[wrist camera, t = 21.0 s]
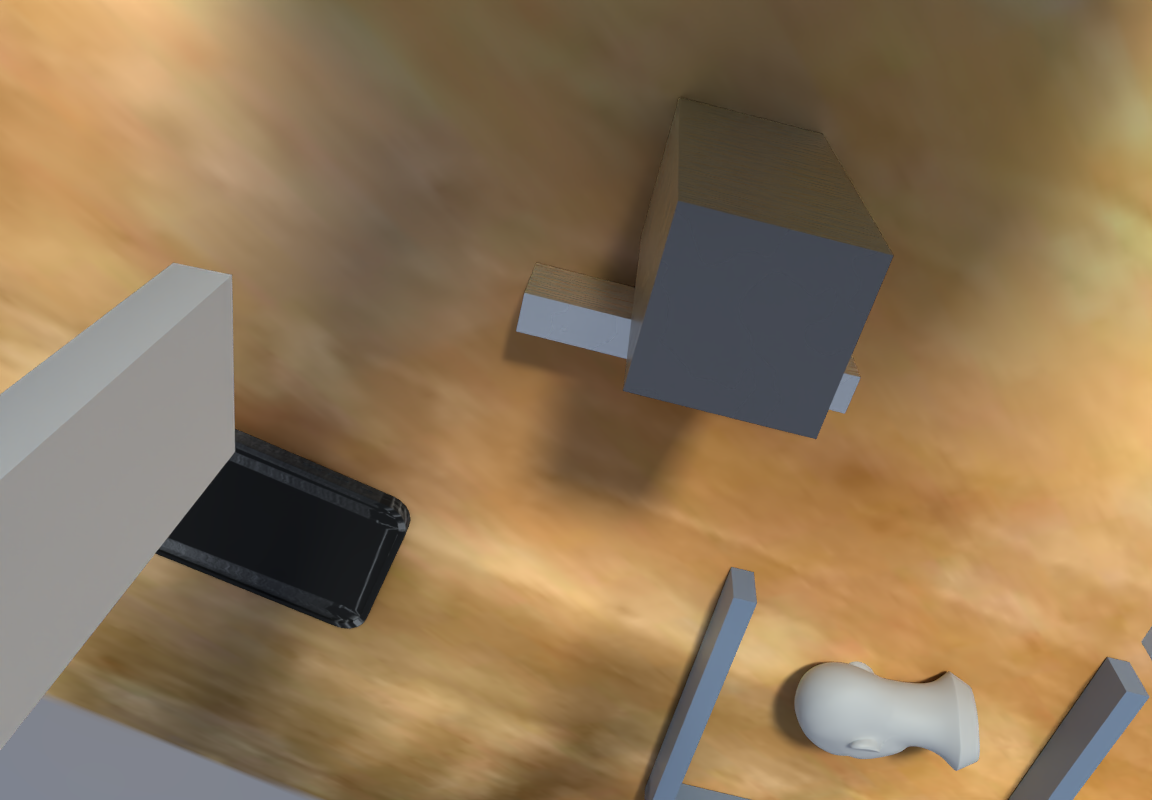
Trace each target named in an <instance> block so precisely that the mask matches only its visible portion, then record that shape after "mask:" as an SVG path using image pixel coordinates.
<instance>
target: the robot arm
mask: <svg viewBox="0 0 1152 800" xmlns="http://www.w3.org/2000/svg"><path fill="white" fill-rule="evenodd" d="M234 452H235V419H234V361H233V303H232V275H230V274H225V273H220V272H215V271H210V270H206V269H201V268H196V267H191V266H186V265H182V264H177V263H172V264H171V265H170V266H168V267H167V268H166V269H165V270H163V271H162V272H161V273H159V274H158V275H157V276H155V277H154V278H153V279H151V280H150V281H149V282H147V283H146V284H145V285H143V286H142V287H141V288H140V289H138V290H137V291H136V292H134V293H133V294H132V295H130V296H129V297H128V298H126V299H125V300H124V301H122V302H121V303H120V304H119V305H117V306H116V307H115V308H113V309H112V310H111V311H109V312H108V313H107V314H105V315H104V316H103V317H101V318H100V319H99V320H97V321H96V322H95V323H94V324H92V325H91V326H90V327H88V328H87V329H86V330H84V331H83V332H82V333H80V334H79V335H78V336H76V337H75V338H74V339H73V340H71V341H70V342H69V343H67V344H66V345H65V346H63V347H62V348H61V349H59V350H58V351H57V352H55V353H54V354H53V355H51V356H50V357H49V358H48V359H46V360H45V361H44V362H42V363H41V364H40V365H38V366H37V367H36V368H34V369H33V370H32V371H30V372H29V373H28V374H27V375H25V376H24V377H23V378H21V379H20V380H19V381H17V382H16V383H15V384H13V385H12V386H11V387H9V388H8V389H7V390H5V391H4V392H3V393H2V394H0V750H1V749H2V748H3V746H4V745H5V744H6V743H7V742H8V740H9V739H10V737H11V736H12V735H13V734H14V733H15V731H16V730H17V729H18V727H19V726H20V725H21V724H22V722H23V721H24V720H25V719H26V717H27V716H28V715H29V713H30V712H31V711H32V710H33V708H34V707H35V706H36V705H37V703H38V702H39V701H40V699H41V698H42V697H43V696H44V694H45V693H46V692H47V691H48V689H49V688H50V687H51V685H52V684H53V683H54V682H55V680H56V679H57V678H58V677H59V675H60V674H61V673H62V671H63V670H64V669H65V668H66V666H67V665H68V664H69V663H70V661H71V660H72V659H73V657H74V656H75V655H76V654H77V652H78V651H79V650H80V649H81V647H82V646H83V645H84V643H85V642H86V641H87V640H88V638H89V637H90V636H91V635H92V633H93V632H94V631H95V629H96V628H97V627H98V626H99V624H100V623H101V622H102V621H103V619H104V618H105V617H106V615H107V614H108V613H109V612H110V610H111V609H112V608H113V606H114V605H115V604H116V603H117V601H118V600H119V599H120V598H121V596H122V595H123V594H124V592H125V591H126V590H127V589H128V587H129V586H130V585H131V584H132V582H133V581H134V580H135V578H136V577H137V576H138V575H139V573H140V572H141V571H142V570H143V568H144V567H145V566H146V564H147V563H148V562H149V561H150V559H151V558H152V557H153V556H154V554H155V553H156V552H157V550H158V549H159V548H160V547H161V545H162V544H163V543H164V542H165V540H166V539H167V538H168V536H169V535H170V534H171V533H172V531H173V530H174V529H175V528H176V526H177V525H178V524H179V522H180V521H181V520H182V519H183V517H184V516H185V515H186V514H187V512H188V511H189V510H190V508H191V507H192V506H193V505H194V503H195V502H196V501H197V499H198V498H199V497H200V496H201V494H202V493H203V492H204V491H205V489H206V488H207V487H208V485H209V484H210V483H211V482H212V480H213V479H214V478H215V477H216V475H217V474H218V473H219V471H220V470H221V469H222V468H223V466H224V465H225V464H226V463H227V461H228V460H229V459H230V457H231V456H232V455H233V454H234ZM1142 644H1143V646H1144V647H1145V649H1146V651H1147V653H1148V654H1149V656H1150V658H1151V660H1152V627H1151V628H1150V630H1149V631H1148V633H1147V634H1146V636H1145V637H1144V639H1143V640H1142Z"/></svg>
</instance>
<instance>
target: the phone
mask: <svg viewBox="0 0 1152 800" xmlns="http://www.w3.org/2000/svg"><path fill="white" fill-rule="evenodd" d="M409 524H410V513H409V511H408V509H407V507H406V506H405V505H404V504H403V503H402V502H401V501H400V500H398V499H397V498H395V497H393V496H391V495H389V494H386V493H384V492H382V491H379V490H377V489H375V488H372V487H370V486H368V485H365V484H363V483H361V482H358V481H356V480H354V479H351V478H349V477H347V476H344V475H342V474H340V473H337V472H335V471H333V470H330V469H328V468H326V467H323V466H321V465H319V464H316V463H314V462H312V461H309V460H307V459H305V458H302V457H300V456H298V455H295V454H293V453H290V452H288V451H286V450H283V449H281V448H279V447H276V446H274V445H272V444H269V443H267V442H265V441H262V440H260V439H258V438H255V437H253V436H251V435H248V434H246V433H244V432H241V431H239V430H237V429H235V452H234V454H233V455H232V456H231V457H230V459H229V460H228V461H227V463H226V464H225V465H224V466H223V468H222V469H221V470H220V471H219V473H218V474H217V475H216V477H215V478H214V479H213V480H212V482H211V483H210V484H209V485H208V487H207V488H206V489H205V491H204V492H203V493H202V494H201V496H200V497H199V498H198V499H197V501H196V502H195V503H194V505H193V506H192V507H191V508H190V510H189V511H188V512H187V514H186V515H185V516H184V517H183V519H182V520H181V521H180V522H179V524H178V525H177V526H176V528H175V529H174V530H173V531H172V533H171V534H170V535H169V536H168V538H167V539H166V540H165V542H164V543H163V544H162V545H161V547H160V548H159V549H158V550H157V552H156V554H158V555H161V556H163V557H166V558H168V559H171V560H173V561H176V562H178V563H181V564H183V565H186V566H188V567H191V568H193V569H195V570H198V571H200V572H203V573H205V574H208V575H210V576H213V577H215V578H218V579H220V580H223V581H225V582H228V583H230V584H233V585H235V586H238V587H240V588H242V589H245V590H247V591H250V592H252V593H255V594H257V595H260V596H262V597H265V598H267V599H270V600H272V601H275V602H277V603H280V604H282V605H285V606H287V607H290V608H292V609H294V610H297V611H299V612H302V613H304V614H307V615H309V616H312V617H314V618H317V619H319V620H322V621H324V622H327V623H329V624H332V625H334V626H337V627H341V628H355V627H358V626H360V625H361V624H363V623H364V621H365V620H366V618H367V616H368V614H369V612H370V610H371V608H372V605H373V603H374V601H375V599H376V597H377V595H378V593H379V590H380V588H381V586H382V584H383V582H384V580H385V577H386V575H387V573H388V571H389V569H390V567H391V564H392V562H393V560H394V558H395V556H396V554H397V552H398V549H399V547H400V545H401V543H402V541H403V539H404V536H405V534H406V532H407V529H408V527H409Z"/></svg>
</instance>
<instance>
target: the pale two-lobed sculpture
mask: <svg viewBox="0 0 1152 800" xmlns="http://www.w3.org/2000/svg"><path fill="white" fill-rule="evenodd" d="M795 712H796V716H797V719H798V722H799V724H800V726H801V728H802V730H803V732H804V733H805V735H806V736H807V737H808V738H809V739H810V740H811V741H812V742H813V743H814V744H815V745H817V746H818V747H819V748H821V749H823V750H825V751H827V752H829V753H831V754H835V755H843V756H851V757H854V758H858V759H871V758H878V757H884V756H889V755H893V754H896V753H899V752H901V751H903V750H904V749H905V748H907V747H909V746H917V747H922V748H925V749H928V750H931V751H933V752H935V753H936V754H938V755H940V756H941V757H942V758H943V759H944V760H945V761H946V762H947V763H948V764H949V765H950V766H951V767H952V768H953V769H954V770H956V771H957V770H959V769H962V768H964V767H966V766H968V765H970V764H973V763H975V762H977V761H978V759H979V753H980V743H979V726H978V716H977V709H976V704H975V699H974V695H973V692H972V689H971V687H970V686H969V685H967V684H966V683H965V682H963V681H962V680H961V679H959V678H958V677H957V676H955V675H954V674H952V673H951V672H949V671H948V672H947V673H945V674H944V675H943V676H941V677H940V678H939V679H937V680H935V681H933V682H929V683H908V682H901V681H895V680H889V679H885V678H882V677H879V676H877V675H875V674H874V672H873V670H872V669H871V668H870V667H869V666H867V665H866V664H864V663H862V662H851V663H849V664H847V663H841V662H828V663H823V664H819V665H817V666H815V667H813V668H811V669H810V670H808V671H807V672H806V673H805V674H804V675H803V677H802V678H801V680H800V682H799V684H798V687H797V690H796V694H795Z"/></svg>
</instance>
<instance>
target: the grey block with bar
mask: <svg viewBox="0 0 1152 800" xmlns="http://www.w3.org/2000/svg"><path fill="white" fill-rule="evenodd" d="M893 256H894V255H893V254H892V252H891V250H890V249H889V247H888V245H887V243H886V242H885V240H884V238H883V237H882V235H881V233H880V231H879V230H878V228H877V226H876V225H875V223H874V221H873V219H872V218H871V216H870V214H869V213H868V211H867V209H866V207H865V206H864V204H863V202H862V201H861V199H860V197H859V195H858V194H857V192H856V190H855V189H854V187H853V185H852V183H851V182H850V180H849V178H848V176H847V175H846V173H845V171H844V170H843V168H842V166H841V164H840V163H839V161H838V159H837V158H836V156H835V154H834V152H833V151H832V149H831V147H830V146H829V144H828V142H827V140H826V139H825V137H824V135H823V134H821V133H817V132H813V131H809V130H806V129H802V128H798V127H794V126H790V125H786V124H782V123H778V122H774V121H771V120H767V119H763V118H759V117H755V116H751V115H747V114H743V113H739V112H736V111H732V110H728V109H724V108H720V107H716V106H712V105H708V104H704V103H701V102H697V101H693V100H689V99H685V98H681V97H679V100H678V103H677V107H676V111H675V114H674V118H673V122H672V125H671V129H670V133H669V136H668V140H667V144H666V147H665V151H664V154H663V158H662V162H661V165H660V169H659V173H658V176H657V180H656V184H655V187H654V191H653V194H652V198H651V202H650V205H649V209H648V213H647V216H646V220H645V224H644V227H643V231H642V235H641V242H640V250H639V259H638V267H637V276H636V284H635V287H632V286H628V285H624V284H620V283H616V282H612V281H608V280H604V279H600V278H596V277H592V276H588V275H584V274H580V273H576V272H572V271H568V270H564V269H560V268H556V267H552V266H548V265H545V264H541V263H537V262H536V265H535V267H534V270H533V272H532V275H531V277H530V280H529V283H528V285H527V288H526V290H525V293H524V297H523V302H522V307H521V311H520V316H519V321H518V325H517V330H516V331H517V332H521V333H525V334H529V335H533V336H537V337H541V338H545V339H549V340H553V341H557V342H561V343H565V344H569V345H573V346H577V347H581V348H585V349H589V350H593V351H597V352H601V353H605V354H609V355H613V356H617V357H621V358H625V359H627V361H626V369H625V378H624V386H623V391H626V392H630V393H634V394H638V395H642V396H646V397H650V398H654V399H658V400H662V401H666V402H670V403H674V404H678V405H682V406H686V407H690V408H694V409H698V410H702V411H706V412H710V413H714V414H718V415H722V416H726V417H730V418H734V419H738V420H742V421H746V422H750V423H754V424H758V425H762V426H766V427H770V428H774V429H778V430H782V431H786V432H790V433H794V434H798V435H802V436H806V437H810V438H814V439H816V438H817V436H818V434H819V431H820V429H821V426H822V424H823V422H824V419H825V417H826V415H827V412H828V410H833V411H837V412H841V413H845V412H846V410H847V408H848V405H849V403H850V401H851V399H852V396H853V394H854V392H855V389H856V387H857V385H858V382H859V380H860V378H861V377H860V374H859V372H858V369H857V366H856V363H855V361H854V358H853V355H852V353H853V351H854V348H855V346H856V343H857V341H858V339H859V336H860V334H861V332H862V329H863V327H864V324H865V322H866V320H867V317H868V315H869V313H870V310H871V308H872V305H873V303H874V301H875V298H876V296H877V294H878V291H879V289H880V287H881V284H882V282H883V279H884V277H885V275H886V272H887V270H888V268H889V265H890V263H891V260H892V258H893Z"/></svg>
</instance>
